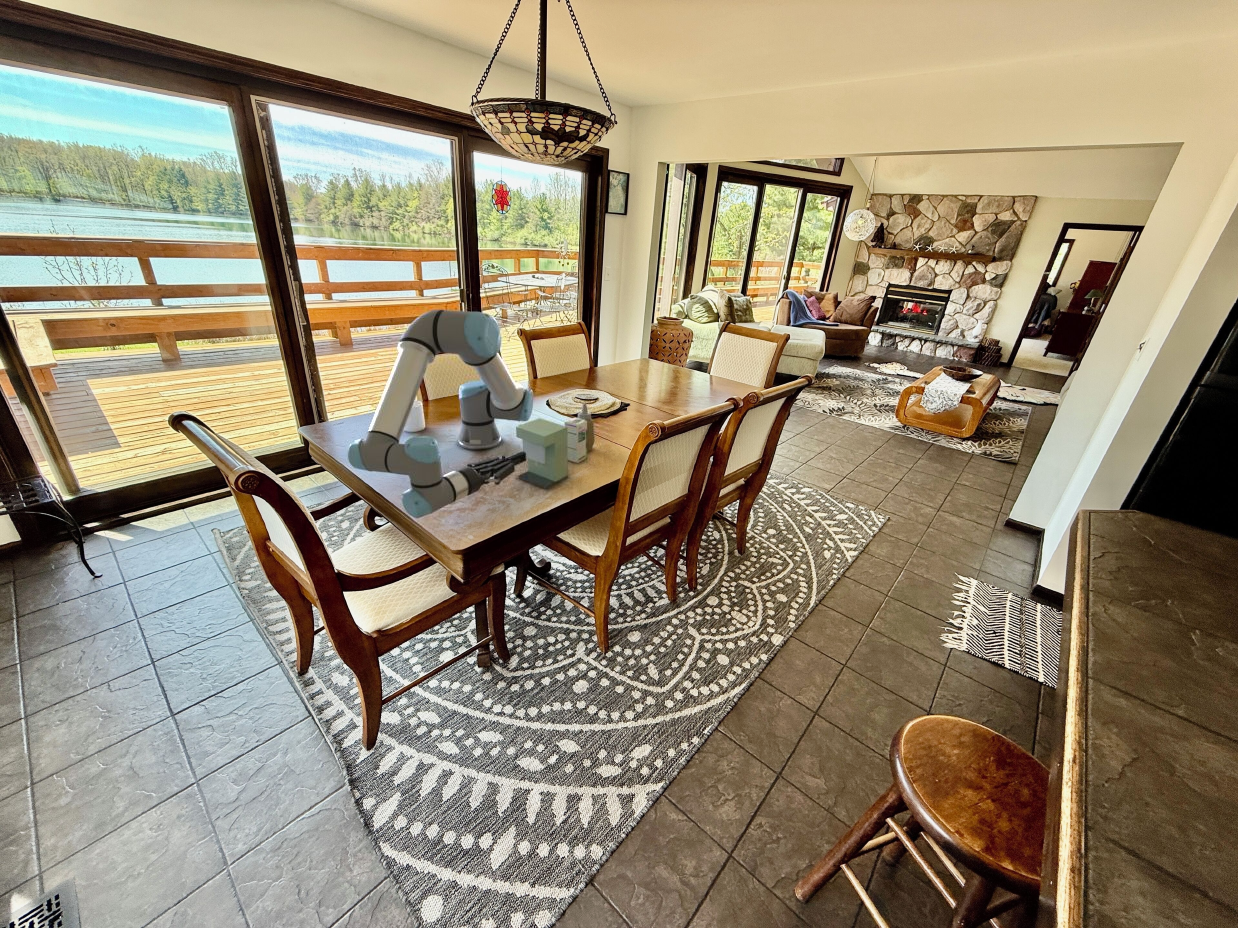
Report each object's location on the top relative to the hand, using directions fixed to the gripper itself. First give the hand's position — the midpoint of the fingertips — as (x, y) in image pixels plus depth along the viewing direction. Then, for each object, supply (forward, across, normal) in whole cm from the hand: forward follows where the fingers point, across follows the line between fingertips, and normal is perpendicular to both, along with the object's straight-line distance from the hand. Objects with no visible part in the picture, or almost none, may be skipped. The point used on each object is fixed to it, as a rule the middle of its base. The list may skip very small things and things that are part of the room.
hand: (524, 455), depth 146 cm
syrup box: (+27, -2, -11) cm, 29 cm away
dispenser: (+8, 0, -11) cm, 14 cm away
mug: (+6, -70, -11) cm, 71 cm away
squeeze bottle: (+35, -4, -11) cm, 37 cm away
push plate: (+4, 0, -3) cm, 5 cm away
